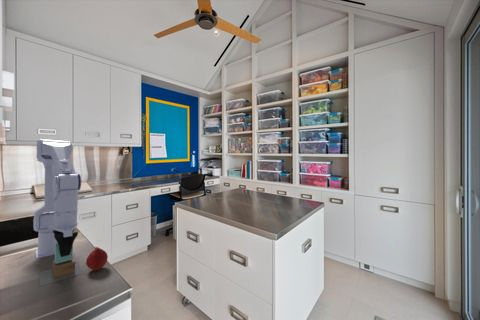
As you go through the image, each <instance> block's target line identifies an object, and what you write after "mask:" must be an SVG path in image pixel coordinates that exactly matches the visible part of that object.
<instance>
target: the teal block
mask: <svg viewBox="0 0 480 320" xmlns="http://www.w3.org/2000/svg"><path fill="white" fill-rule="evenodd" d="M73 246H74V244H73V245H72V249H71V252H70V255H67V256H63V257H61V255H60V251H59V245H58V243H57V244H55V254H54V261H55V263H56V264H57V263H61V262H65V261H69V260H72V256H73V253H74V252H73V248H74V247H73Z"/></svg>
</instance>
